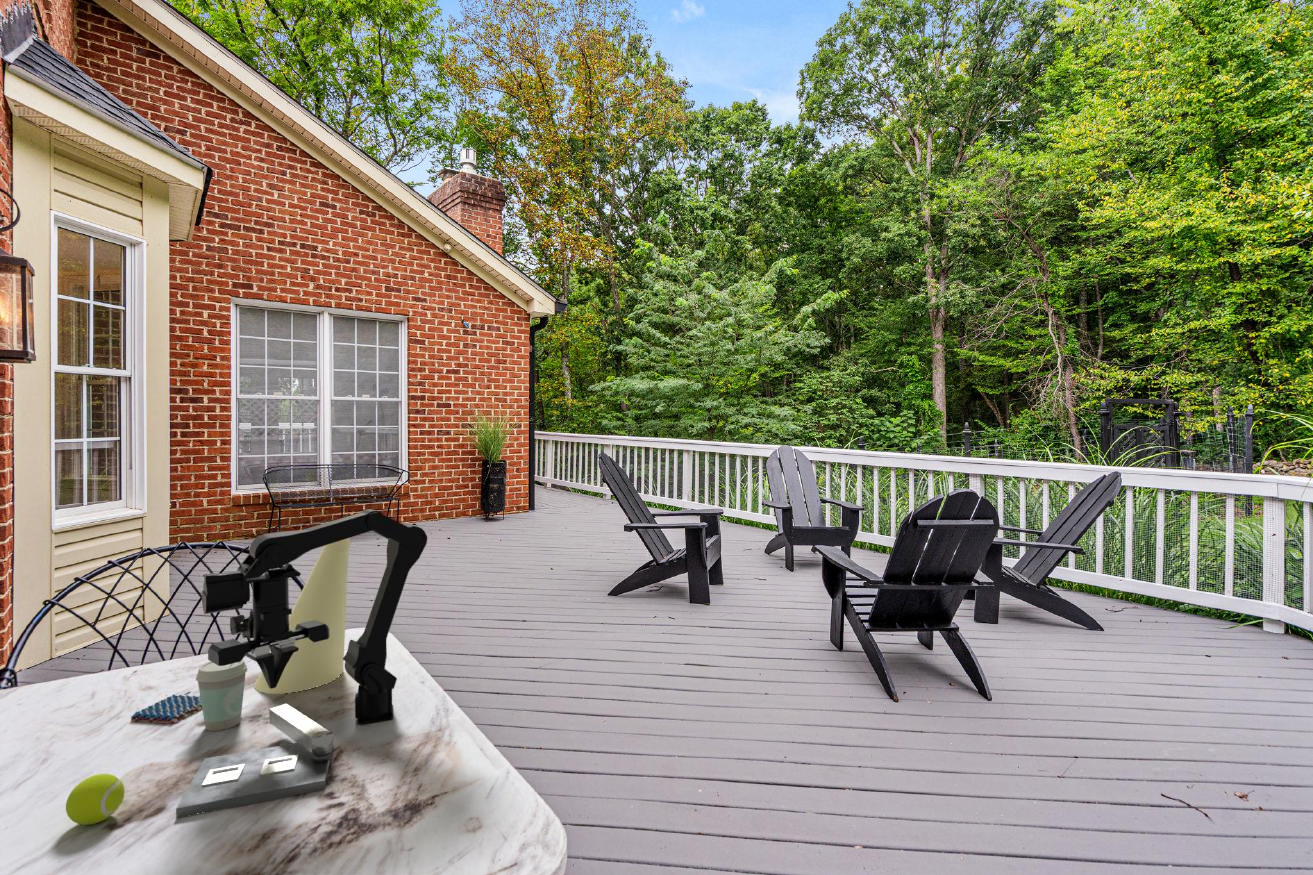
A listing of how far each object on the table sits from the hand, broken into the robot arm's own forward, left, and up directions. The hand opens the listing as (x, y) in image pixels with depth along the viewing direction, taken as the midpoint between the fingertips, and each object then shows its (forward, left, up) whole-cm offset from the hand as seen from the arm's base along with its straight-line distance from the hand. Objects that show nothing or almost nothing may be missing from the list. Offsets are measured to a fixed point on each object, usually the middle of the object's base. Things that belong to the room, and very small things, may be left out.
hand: (272, 687), depth 120 cm
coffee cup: (+11, -14, -11) cm, 21 cm away
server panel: (0, +12, -11) cm, 16 cm away
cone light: (-2, -33, -11) cm, 35 cm away
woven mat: (+22, -25, -12) cm, 35 cm away
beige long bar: (-5, +4, -8) cm, 10 cm away
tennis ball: (+21, +16, -11) cm, 28 cm away
